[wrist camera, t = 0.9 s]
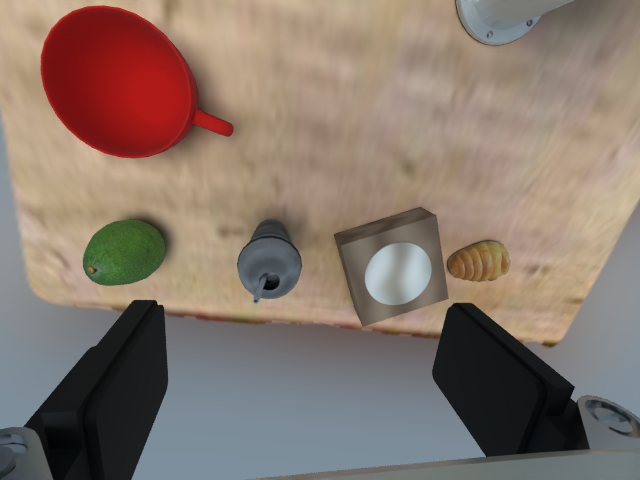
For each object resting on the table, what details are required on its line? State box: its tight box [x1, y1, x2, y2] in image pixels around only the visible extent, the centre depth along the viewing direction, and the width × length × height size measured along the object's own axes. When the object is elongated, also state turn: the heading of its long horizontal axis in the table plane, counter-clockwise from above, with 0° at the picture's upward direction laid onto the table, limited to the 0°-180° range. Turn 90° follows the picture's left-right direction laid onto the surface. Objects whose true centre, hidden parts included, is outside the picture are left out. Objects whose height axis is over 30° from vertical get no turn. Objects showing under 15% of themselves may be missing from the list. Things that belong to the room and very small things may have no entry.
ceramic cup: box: [41, 5, 233, 158], centre depth 34 cm, size 13×17×10 cm
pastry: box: [448, 241, 510, 282], centre depth 51 cm, size 9×7×4 cm
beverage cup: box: [237, 220, 302, 304], centre depth 37 cm, size 7×7×20 cm
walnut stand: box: [334, 207, 449, 327], centre depth 48 cm, size 14×14×5 cm
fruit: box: [83, 219, 166, 286], centre depth 38 cm, size 8×8×12 cm
